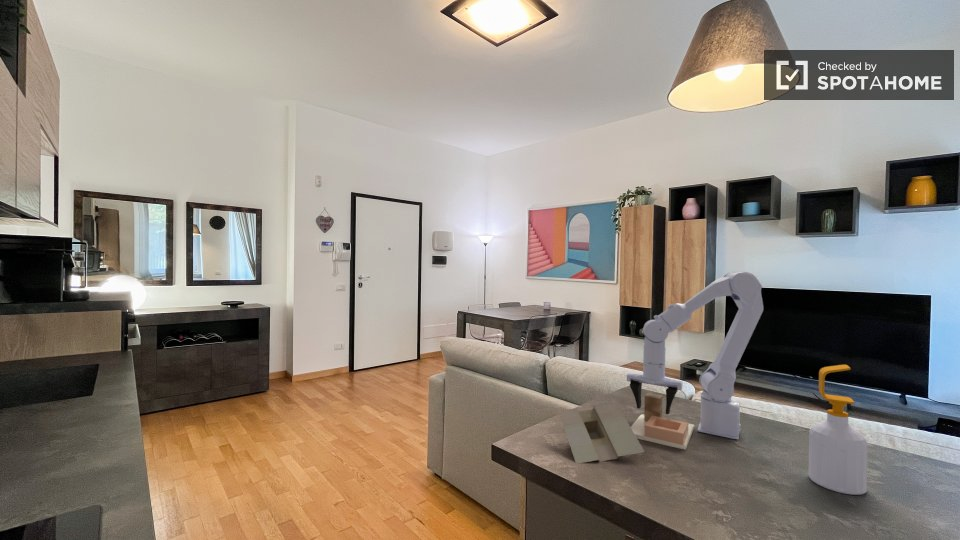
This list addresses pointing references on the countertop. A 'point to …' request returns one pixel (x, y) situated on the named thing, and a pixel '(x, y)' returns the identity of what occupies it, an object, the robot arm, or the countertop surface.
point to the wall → (599, 433)
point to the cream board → (640, 434)
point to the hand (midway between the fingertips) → (653, 410)
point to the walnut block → (652, 406)
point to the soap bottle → (837, 446)
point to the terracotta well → (666, 430)
